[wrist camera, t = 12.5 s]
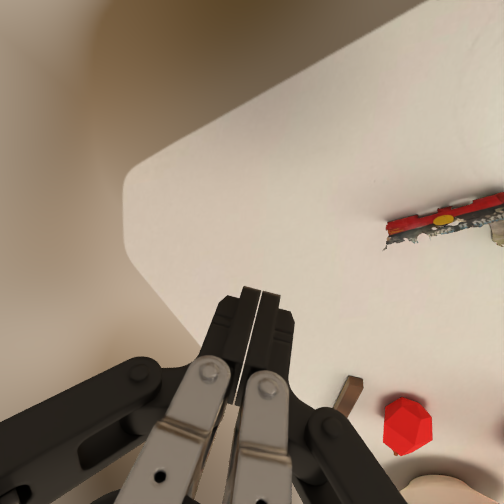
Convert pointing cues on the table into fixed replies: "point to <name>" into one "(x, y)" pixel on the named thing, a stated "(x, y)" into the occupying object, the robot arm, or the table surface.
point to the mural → (474, 215)
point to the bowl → (442, 491)
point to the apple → (406, 426)
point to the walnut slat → (349, 395)
